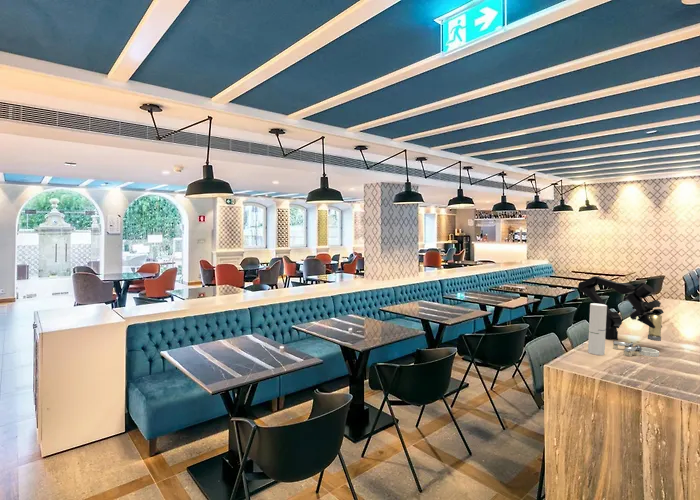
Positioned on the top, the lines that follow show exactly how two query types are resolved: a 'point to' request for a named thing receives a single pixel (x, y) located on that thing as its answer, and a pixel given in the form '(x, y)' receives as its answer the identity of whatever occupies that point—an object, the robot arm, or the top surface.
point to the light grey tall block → (597, 329)
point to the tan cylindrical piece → (656, 332)
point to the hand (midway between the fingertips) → (657, 327)
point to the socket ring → (649, 352)
